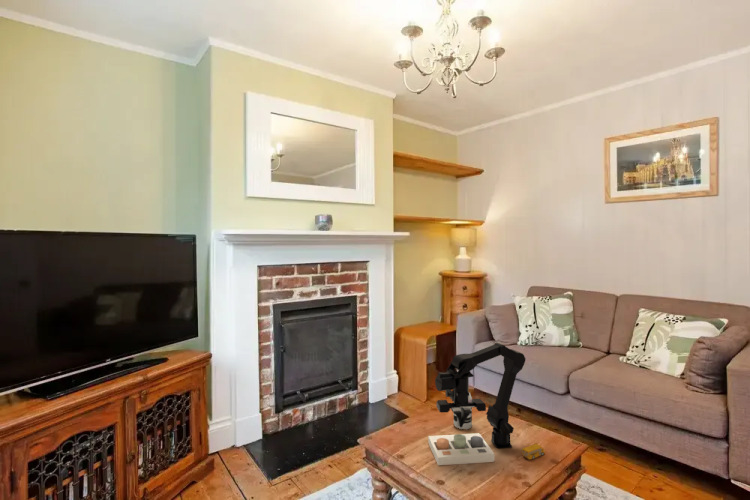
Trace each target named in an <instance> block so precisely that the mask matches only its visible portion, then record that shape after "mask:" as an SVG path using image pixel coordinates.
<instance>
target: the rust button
mask: <svg viewBox="0 0 750 500" xmlns="http://www.w3.org/2000/svg"><path fill="white" fill-rule="evenodd" d="M437 450H449V441H448V440H447V439H445V438H439V439H437Z"/></svg>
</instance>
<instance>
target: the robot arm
mask: <svg viewBox="0 0 750 500" xmlns="http://www.w3.org/2000/svg"><path fill="white" fill-rule="evenodd" d="M499 356H502V357H503V362H502V363H503V367H504V371H503V374H502V378H501V380H500V381H501V382H500V385H499V388H498V392H497V395H496V400H495V403H494V404H492V405H490V404H489V405H488V406H487V405H486V403H485V402H484V401H483V400H482V399H481V398H472V401H471V402H468V396H469V393H470V392H469V388H470V387H469V386H470V385H469V383H470V382H469V381H470V380H469V378H473V377H474V374H473V373H472V372H471V371H473V370H475V368H476V366H477V365H479V364H482V363H484V362H487V361H489V360H491V359H494V358H497V357H499ZM525 364H526V357H525V355H524V353H522V352H520V351H517V350H514V349H512V348H508V347H507V346H506V345H504V344H502V343H499V342H496V343H494V344H492V345H489V346H488V347H487V346H486V347H484V348H482V349H480V350H477V351H473V352H472V353H460V354H459V353H458V354H456V355H454V356H453V358H452V361H451V362H450V364H449V365H448V367H447V368H446V372H445V371H444V372H440V371H439V372H437V375H436V377H435V379H434V384H435V388H436V390H437V391H438V392H443V391H445V393H444V394H445V397H447V398H450V400H451V401H452V402H448V400H447V399H438V400H436V408H437V410H438V412H439V413H442V414H443V413H449V412H450V411H451V412H452V413H454V414H456V417H457V420H458V423H459V426H460V427H462V426H463V424H464V422H465V420H466V418H467V417H468V415H469V414H471V413H472V414H473V412H472V411H473V410H472V411H471V407H472V408H476V410H477V411H478V412H486V411H487V412H486V413H485V414H486V419H487V422H488V423H489V424H490V426H491V427H492V431H491V439H490V440H491V443H492V444H493V445H494V447H496V448H497V449H504V448H512V447H513V445H512V444H511V434H513V432H514V429H515V428H514V427H513V426H512V424H510V423H509V419H510V415H509V410H508V406H509V403H510V399H511V395H512V392H513V389H514V386H515V383H516V382H515V381H516V378H517V375H518V374H519V373H520V371H521V370H523V367H524V365H525ZM455 369H456V370H455ZM453 401H454V403H453ZM487 407H488V408H487ZM460 408H461V411H460ZM486 408H487V409H486Z"/></svg>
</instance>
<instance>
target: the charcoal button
mask: <svg viewBox="0 0 750 500" xmlns="http://www.w3.org/2000/svg"><path fill="white" fill-rule="evenodd" d="M482 438H483V437H482ZM482 438H481V437H478V436H473V437H471V447H472V448H481V447H483V439H484V438H483V439H482Z"/></svg>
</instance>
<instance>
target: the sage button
mask: <svg viewBox="0 0 750 500" xmlns="http://www.w3.org/2000/svg"><path fill="white" fill-rule="evenodd" d="M461 434H462V433H461ZM461 434H460V433H458V434H457V433H456V434H453V435H454V446H456V447H458V448H457V449H465V448H464V447H466V437H465V436H464V435H461Z"/></svg>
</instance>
